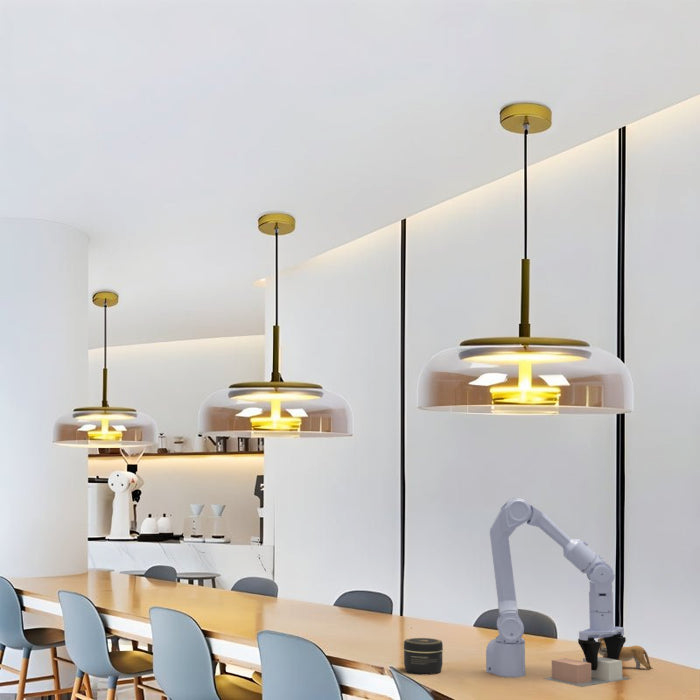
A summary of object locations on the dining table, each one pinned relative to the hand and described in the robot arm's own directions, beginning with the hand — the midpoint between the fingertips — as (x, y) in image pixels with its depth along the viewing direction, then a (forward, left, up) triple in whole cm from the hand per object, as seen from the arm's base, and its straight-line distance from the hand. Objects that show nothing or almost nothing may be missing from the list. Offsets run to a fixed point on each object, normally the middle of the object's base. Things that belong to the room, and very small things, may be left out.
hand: (602, 668), depth 244 cm
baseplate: (-1, -5, -3) cm, 6 cm away
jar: (-34, -29, -3) cm, 45 cm away
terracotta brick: (-2, -9, -2) cm, 10 cm away
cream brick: (0, 0, -2) cm, 2 cm away
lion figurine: (-5, +14, -3) cm, 15 cm away
